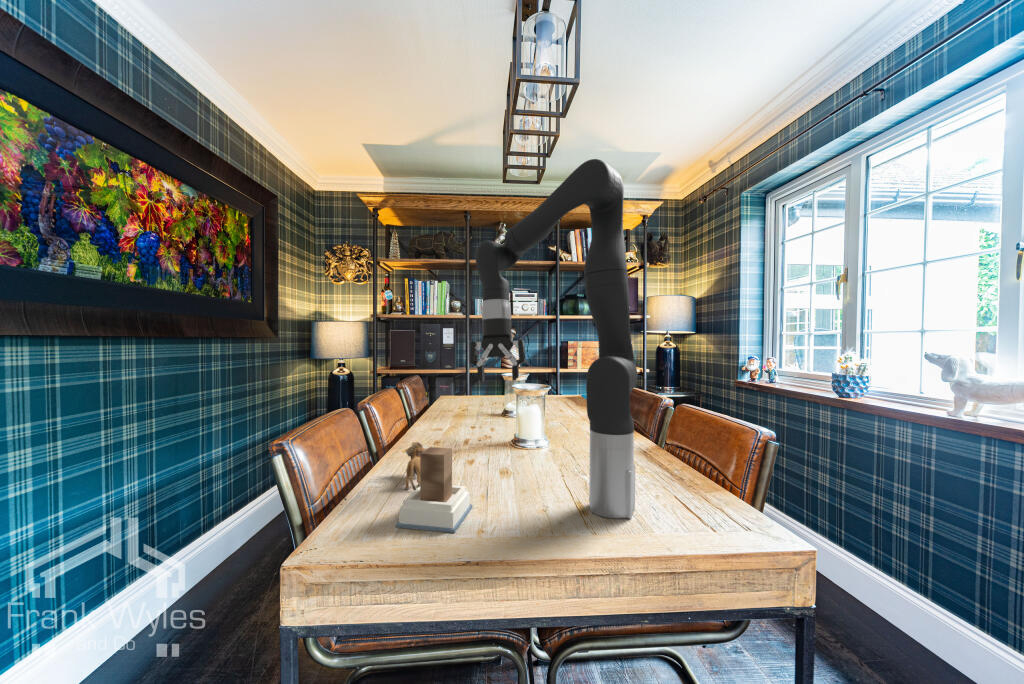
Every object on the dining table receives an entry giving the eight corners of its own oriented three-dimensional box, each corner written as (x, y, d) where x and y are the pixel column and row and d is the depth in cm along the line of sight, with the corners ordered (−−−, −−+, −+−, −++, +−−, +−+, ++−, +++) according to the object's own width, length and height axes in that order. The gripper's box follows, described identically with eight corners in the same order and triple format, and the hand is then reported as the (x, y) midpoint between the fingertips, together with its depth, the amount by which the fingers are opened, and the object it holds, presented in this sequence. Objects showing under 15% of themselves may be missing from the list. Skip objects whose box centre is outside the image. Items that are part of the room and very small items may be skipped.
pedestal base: (472, 507, 89) (472, 485, 89) (454, 532, 77) (454, 507, 77) (420, 502, 91) (420, 481, 91) (395, 527, 80) (395, 502, 80)
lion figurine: (405, 473, 111) (405, 440, 111) (425, 472, 113) (425, 439, 113) (404, 493, 97) (404, 455, 97) (427, 491, 98) (427, 454, 98)
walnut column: (451, 495, 86) (452, 448, 86) (443, 504, 82) (444, 454, 81) (429, 493, 87) (429, 447, 87) (420, 502, 82) (420, 453, 82)
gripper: (466, 318, 104) (467, 382, 103) (521, 315, 101) (523, 381, 101) (474, 321, 111) (475, 380, 111) (525, 318, 109) (527, 379, 108)
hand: (498, 380), depth 106 cm, fingers open, 8 cm apart
